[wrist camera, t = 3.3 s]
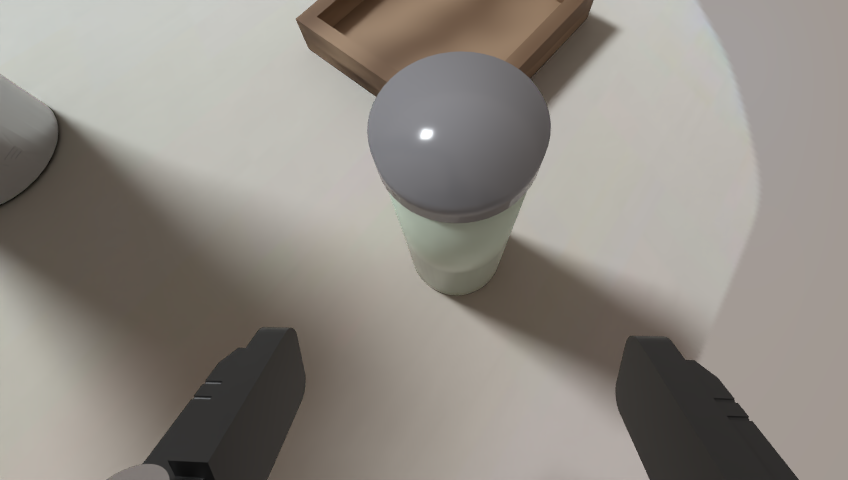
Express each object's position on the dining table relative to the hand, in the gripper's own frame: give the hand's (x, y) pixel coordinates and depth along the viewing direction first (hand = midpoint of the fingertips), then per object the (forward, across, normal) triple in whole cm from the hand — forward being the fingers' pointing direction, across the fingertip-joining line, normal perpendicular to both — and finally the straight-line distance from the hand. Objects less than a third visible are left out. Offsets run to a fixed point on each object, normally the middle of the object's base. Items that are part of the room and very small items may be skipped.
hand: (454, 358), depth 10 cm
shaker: (+13, 0, +4) cm, 13 cm away
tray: (+24, +1, -8) cm, 25 cm away
